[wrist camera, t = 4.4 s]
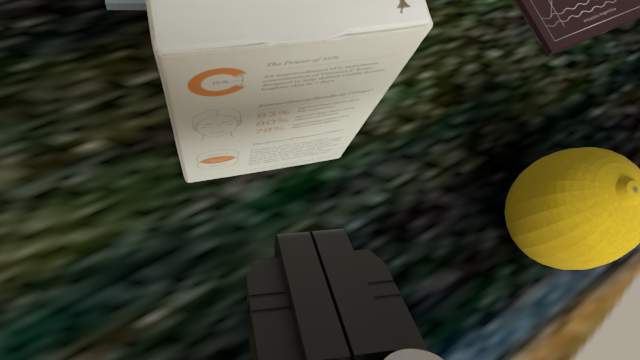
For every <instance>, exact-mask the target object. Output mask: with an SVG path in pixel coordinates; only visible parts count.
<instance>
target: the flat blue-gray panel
mask: <svg viewBox="0 0 640 360" xmlns="http://www.w3.org/2000/svg"><path fill="white" fill-rule="evenodd" d="M105 5H106V8H107V10H147V8H146V1H145V0H105Z"/></svg>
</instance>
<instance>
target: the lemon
mask: <svg viewBox="0 0 640 360" xmlns="http://www.w3.org/2000/svg"><path fill="white" fill-rule="evenodd" d="M505 219H506V225H507V228H508V230H509V233H510V235H511V237H512V239H513V240H514V242H515V243H516V245H517V246H518V247H519V248H520V249H521V250H522V251H523V252H524V253H525V254H526V255H527V256H529V257H530V258H532V259H534V260H536V261H537V262H539V263H541V264H543V265H547V266H550V267H554V268H558V269H564V270H583V269H590V268H594V267H597V266H601V265H604V264H607V263H610V262H612V261H614V260H616V259H618V258H620V257H622V256H623V255H625V254H626V253H627V252H629V251H630V250H632V249H633V248H635V247H636V246H637V245H638V244H639V243H640V169H639V168H638V167H637V166H636V165H635V164H634V163H632V162H631V161H630V160H628V159H627V158H626V157H624V156H622V155H620V154H617V153H615V152H613V151H610V150H606V149H600V148H594V147H584V148H573V149H566V150H562V151H558V152H555V153H553V154H550V155H548V156H545V157H543V158H540V159H539V160H537V161H535V162H534V163H533V164H531V165H530V166H529V167H528V168H526V169H525V170H524V171H523V172H522V173H521V174H520V175H519V176H518V177H517V179H516V180H515V182H514V183H513V185H512V186H511V188H510V190H509V193H508V196H507V199H506V203H505Z"/></svg>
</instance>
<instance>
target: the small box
mask: <svg viewBox="0 0 640 360" xmlns="http://www.w3.org/2000/svg"><path fill="white" fill-rule="evenodd" d="M145 1H146V8H147V15H148V22H149V28H150V35H151V41H152V47H153V52H154V55H155V59H156V62H157V66H158V70H159V73H160V77H161V81H162V86H163V90H164V94H165V99H166V103H167V107H168V112H169V116H170V120H171V124H172V128H173V133H174V138H175V142H176V147H177V151H178V155H179V159H180V164H181V168H182V172H183V175H184V178H185V180H186V182H188V183H191V182H198V181H204V180H210V179H217V178H223V177H229V176H236V175H242V174H248V173H254V172H260V171H266V170H272V169H278V168H285V167H291V166H297V165H303V164H309V163H315V162H320V161H326V160H332V159H337V158H340V157H341V155H342V153H343V152H344V151H345V149H346V148H347V146H348V145H349V144H350V142H351V141H352V139H353V138H354V137H355V135H356V134H357V132H358V131H359V129H360V128H361V127H362V125H363V124H364V122H365V121H366V120H367V118H368V117H369V115H370V114H371V112H372V111H373V110H374V108H375V107H376V105H377V104H378V103H379V101H380V100H381V98H382V97H383V96H384V94H385V93H386V91H387V90H388V88H389V87H390V86H391V84H392V83H393V81H394V80H395V79H396V77H397V76H398V74H399V73H400V72H401V70H402V69H403V67H404V66H405V64H406V63H407V62H408V60H409V59H410V57H411V56H412V55H413V53H414V52H415V50H416V49H417V47H418V46H419V44H420V43H421V42H422V40H423V39H424V38H425V36H426V35H427V34H428V32H429V31H430V29H431V28H432V27H433V22H432V19H431V16H430V13H429V10H428V7H427V4H426V1H425V0H145Z"/></svg>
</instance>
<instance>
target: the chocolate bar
mask: <svg viewBox="0 0 640 360" xmlns="http://www.w3.org/2000/svg"><path fill="white" fill-rule="evenodd" d="M514 1H515V3H516V5H517V6H518V8H519V10H520V11H521V13H522V15H523V16H524V18H525V20H526V22H527V23H528V25H529V27H530V28H531V30H532V32H533V33H534V35H535V37H536V38H537V40H538V42H539V44H540V45H541V47H542V49H543V50H544V52H545V54H546V55H547V56H550V55H552V54H554V53H557V52H559V51H562V50H564V49H566V48H569V47H571V46H574V45H576V44H578V43H581V42H583V41H586V40H588V39H590V38H593V37H595V36H598V35H600V34H602V33H605V32H607V31H610V30H612V29H614V28H617V27H619V26H622V25H624V24H626V23H629V22H631V21H634V20H636V19H639V18H640V0H514Z"/></svg>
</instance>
